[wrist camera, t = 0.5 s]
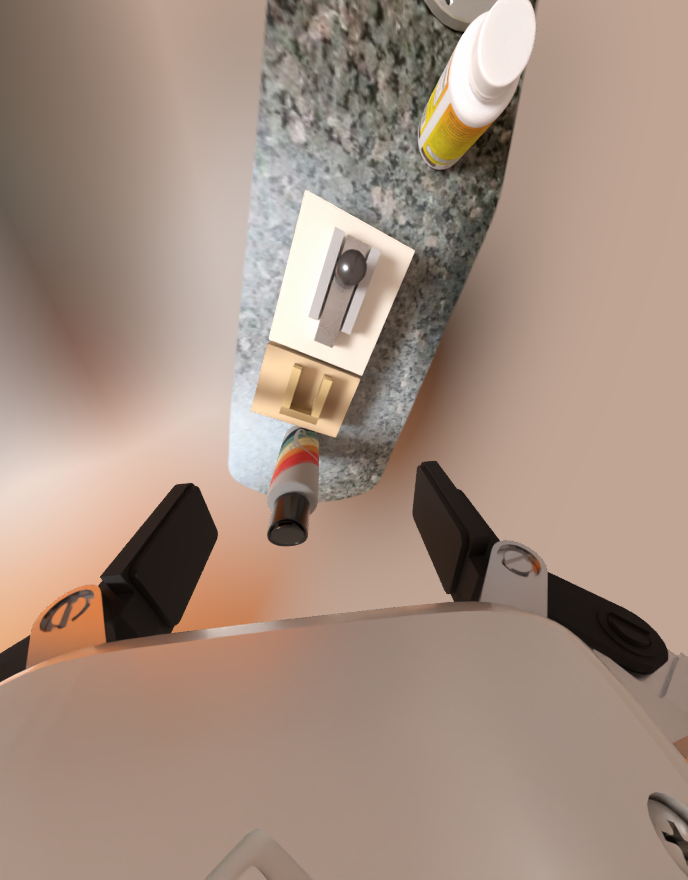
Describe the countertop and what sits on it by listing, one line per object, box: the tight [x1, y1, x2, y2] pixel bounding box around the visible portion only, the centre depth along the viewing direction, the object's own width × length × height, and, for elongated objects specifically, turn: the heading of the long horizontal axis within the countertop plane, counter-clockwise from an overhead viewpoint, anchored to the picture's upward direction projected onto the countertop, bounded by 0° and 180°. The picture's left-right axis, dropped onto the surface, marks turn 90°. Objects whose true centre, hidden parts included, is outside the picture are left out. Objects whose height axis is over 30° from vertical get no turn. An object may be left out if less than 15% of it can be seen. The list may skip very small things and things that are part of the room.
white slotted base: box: [269, 190, 415, 376], centre depth 29 cm, size 14×12×7 cm
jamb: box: [251, 341, 360, 438], centre depth 33 cm, size 9×12×7 cm
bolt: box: [314, 234, 369, 348], centre depth 24 cm, size 10×2×7 cm, turn 158°
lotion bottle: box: [267, 425, 319, 546], centre depth 32 cm, size 6×6×20 cm
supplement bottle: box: [418, 0, 536, 170], centre depth 21 cm, size 6×6×10 cm
